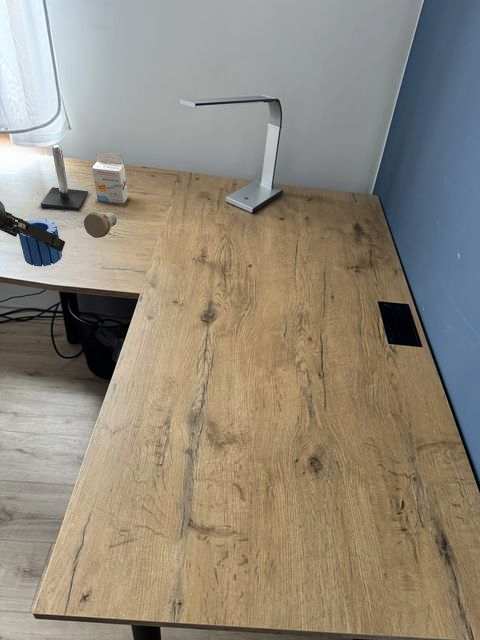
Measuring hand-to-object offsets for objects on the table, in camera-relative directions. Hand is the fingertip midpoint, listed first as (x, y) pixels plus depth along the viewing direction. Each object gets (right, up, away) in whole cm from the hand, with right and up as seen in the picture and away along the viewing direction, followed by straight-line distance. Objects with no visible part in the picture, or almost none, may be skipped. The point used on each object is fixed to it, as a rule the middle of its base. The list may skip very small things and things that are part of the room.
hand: (39, 239), depth 127 cm
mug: (+10, +6, +19) cm, 22 cm away
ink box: (+9, +19, +32) cm, 38 cm away
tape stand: (-5, +18, +29) cm, 34 cm away
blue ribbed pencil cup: (-1, -5, +5) cm, 7 cm away
